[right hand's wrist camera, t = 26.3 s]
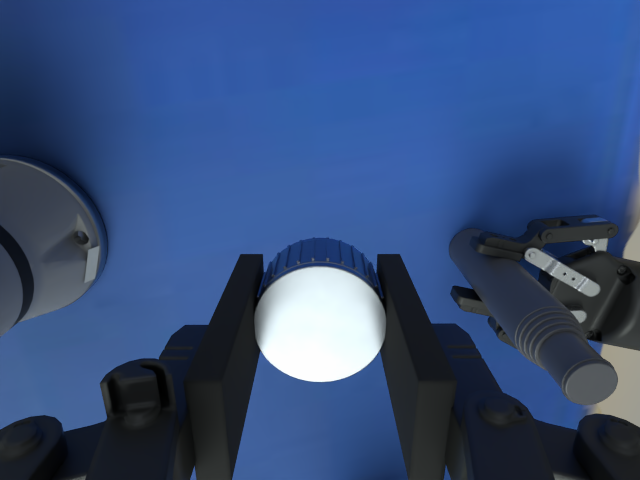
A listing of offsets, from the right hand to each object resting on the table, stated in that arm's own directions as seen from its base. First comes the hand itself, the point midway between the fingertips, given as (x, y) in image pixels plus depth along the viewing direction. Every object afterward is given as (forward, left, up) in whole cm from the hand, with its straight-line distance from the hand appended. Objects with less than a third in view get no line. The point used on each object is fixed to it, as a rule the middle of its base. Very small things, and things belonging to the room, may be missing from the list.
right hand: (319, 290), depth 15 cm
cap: (0, 0, +2) cm, 2 cm away
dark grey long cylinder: (+3, -17, -26) cm, 31 cm away
